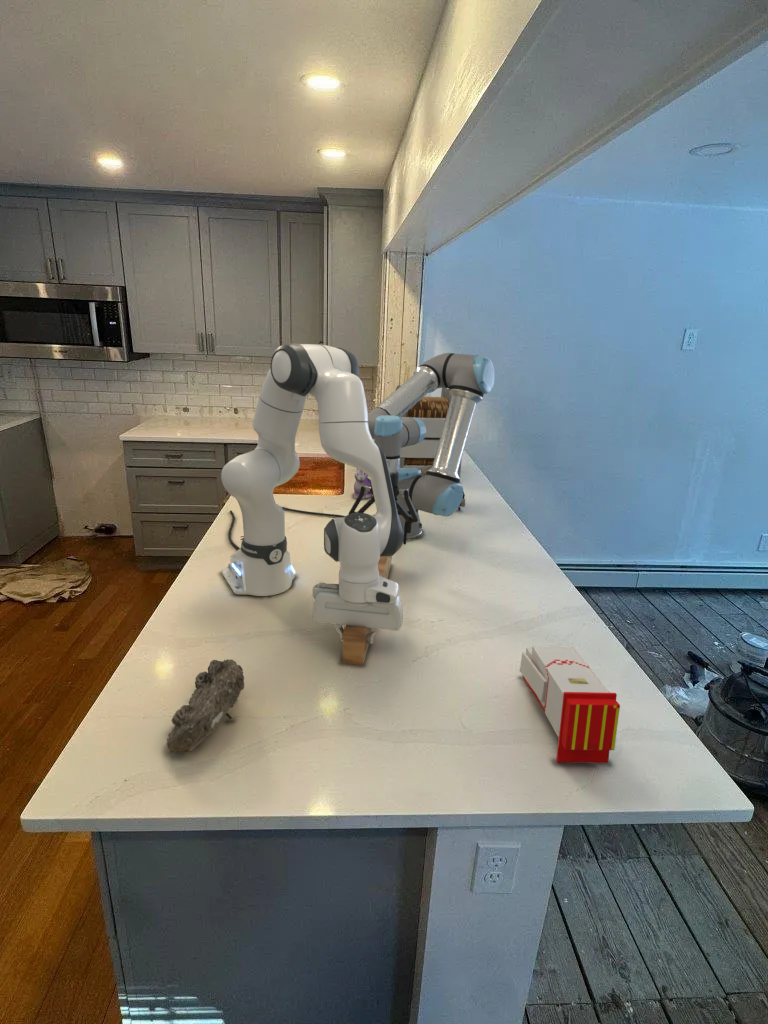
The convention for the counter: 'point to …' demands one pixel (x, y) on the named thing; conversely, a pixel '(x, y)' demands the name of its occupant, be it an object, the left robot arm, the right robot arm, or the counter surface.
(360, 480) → the figurine
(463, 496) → the figurine character
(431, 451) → the transformer
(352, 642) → the beam
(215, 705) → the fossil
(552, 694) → the toy
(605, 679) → the counter surface
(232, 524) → the left robot arm
